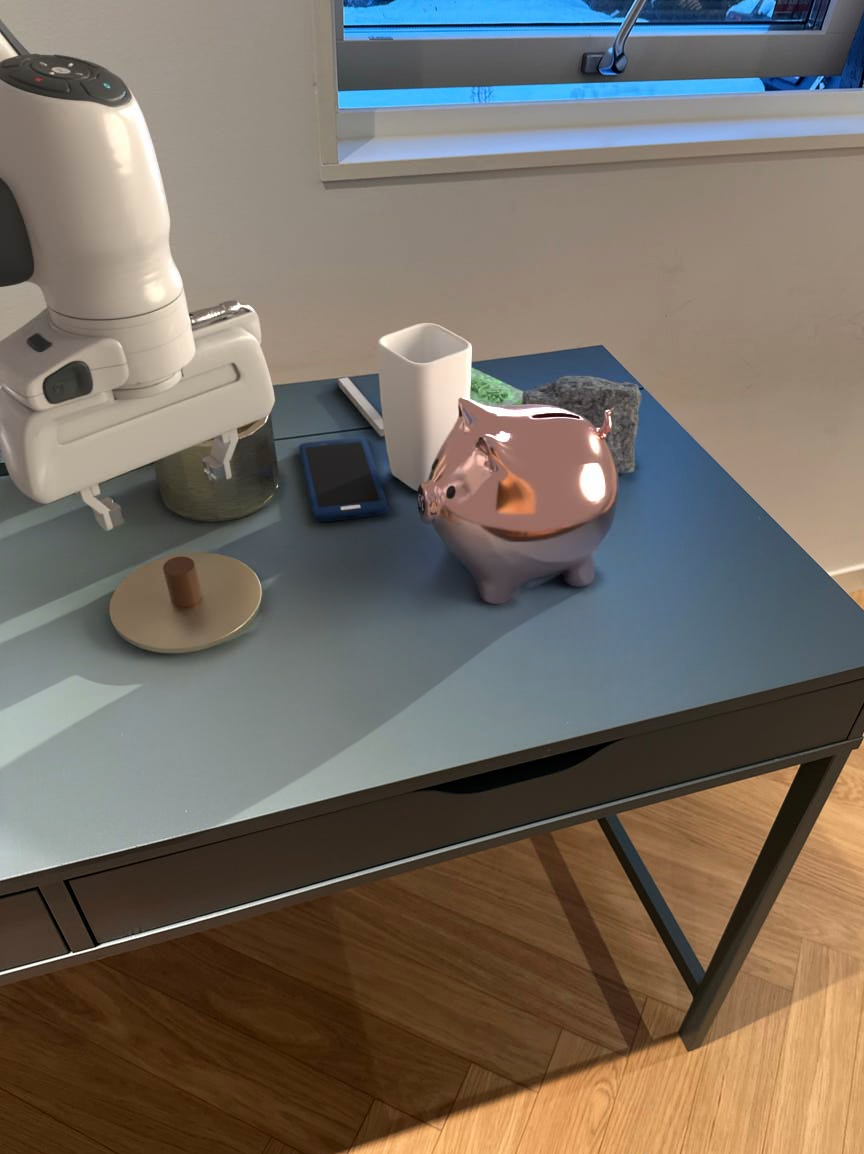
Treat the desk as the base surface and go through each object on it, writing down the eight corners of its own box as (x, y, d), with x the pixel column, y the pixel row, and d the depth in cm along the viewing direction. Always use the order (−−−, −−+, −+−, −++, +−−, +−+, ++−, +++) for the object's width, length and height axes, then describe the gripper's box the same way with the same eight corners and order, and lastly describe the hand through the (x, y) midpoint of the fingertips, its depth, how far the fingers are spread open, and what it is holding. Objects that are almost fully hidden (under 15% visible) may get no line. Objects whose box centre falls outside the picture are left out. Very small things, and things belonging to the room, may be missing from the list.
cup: (376, 474, 98) (369, 339, 87) (430, 451, 101) (430, 319, 91) (419, 506, 94) (418, 368, 84) (474, 480, 97) (479, 346, 87)
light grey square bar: (338, 386, 111) (338, 379, 110) (347, 384, 112) (347, 377, 111) (380, 437, 103) (380, 429, 103) (390, 435, 104) (389, 427, 103)
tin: (139, 484, 95) (120, 409, 89) (238, 445, 101) (226, 372, 95) (201, 536, 89) (185, 459, 83) (301, 491, 95) (293, 416, 89)
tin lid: (85, 603, 81) (71, 560, 78) (213, 545, 88) (204, 503, 85) (160, 681, 75) (148, 638, 72) (291, 612, 82) (286, 570, 78)
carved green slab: (386, 410, 107) (385, 391, 106) (458, 376, 114) (459, 357, 112) (457, 448, 102) (458, 428, 100) (528, 410, 109) (530, 390, 107)
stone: (532, 491, 96) (539, 404, 90) (513, 452, 102) (519, 366, 95) (646, 480, 99) (662, 394, 92) (622, 442, 104) (636, 358, 97)
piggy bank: (398, 530, 91) (393, 379, 80) (569, 500, 95) (586, 354, 84) (446, 633, 80) (448, 476, 69) (635, 594, 85) (665, 440, 74)
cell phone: (315, 523, 91) (314, 517, 90) (298, 448, 100) (297, 442, 100) (389, 514, 92) (389, 508, 92) (365, 441, 102) (365, 435, 101)
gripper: (230, 280, 71) (256, 439, 81) (-41, 361, 61) (25, 533, 70) (278, 306, 68) (299, 469, 77) (0, 398, 58) (63, 573, 67)
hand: (166, 500), depth 74 cm, fingers open, 8 cm apart
